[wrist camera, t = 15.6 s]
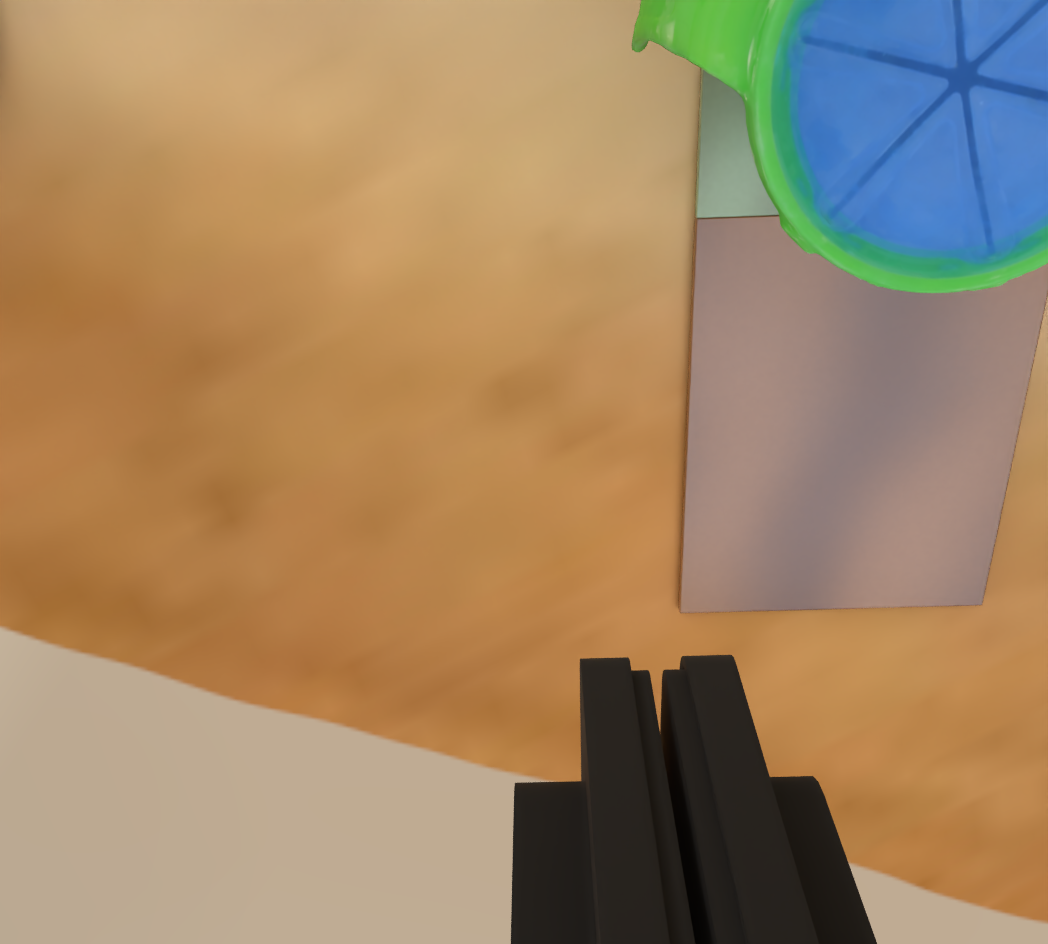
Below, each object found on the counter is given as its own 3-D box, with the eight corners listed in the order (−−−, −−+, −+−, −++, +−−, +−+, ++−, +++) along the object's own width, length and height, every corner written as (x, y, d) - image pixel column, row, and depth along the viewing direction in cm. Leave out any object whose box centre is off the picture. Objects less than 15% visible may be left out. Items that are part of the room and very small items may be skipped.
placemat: (678, 608, 43) (679, 613, 42) (711, -185, 30) (713, -186, 29) (978, 600, 42) (982, 605, 42) (1146, -204, 29) (1154, -207, 29)
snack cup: (575, 132, 33) (590, 190, 24) (695, -224, 29) (770, -317, 20) (980, 274, 35) (1134, 377, 26) (1152, -36, 31) (1409, -42, 22)
